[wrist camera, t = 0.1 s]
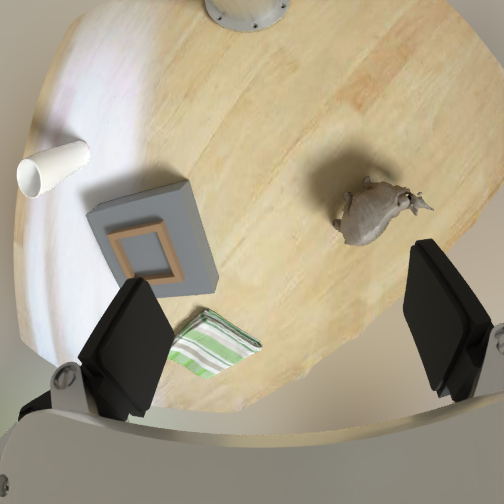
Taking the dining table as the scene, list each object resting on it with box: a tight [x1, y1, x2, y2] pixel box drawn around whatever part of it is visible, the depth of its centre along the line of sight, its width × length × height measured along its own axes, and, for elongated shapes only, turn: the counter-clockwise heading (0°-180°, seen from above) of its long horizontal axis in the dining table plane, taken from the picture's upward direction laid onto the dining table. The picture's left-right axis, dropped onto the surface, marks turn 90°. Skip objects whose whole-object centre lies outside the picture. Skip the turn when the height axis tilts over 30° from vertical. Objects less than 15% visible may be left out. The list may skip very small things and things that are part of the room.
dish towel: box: [167, 309, 263, 379], centre depth 66 cm, size 17×23×4 cm
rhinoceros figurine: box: [333, 177, 434, 246], centre depth 41 cm, size 8×14×15 cm
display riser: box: [86, 180, 219, 298], centre depth 50 cm, size 20×20×6 cm
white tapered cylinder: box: [17, 141, 91, 199], centre depth 37 cm, size 7×7×15 cm
